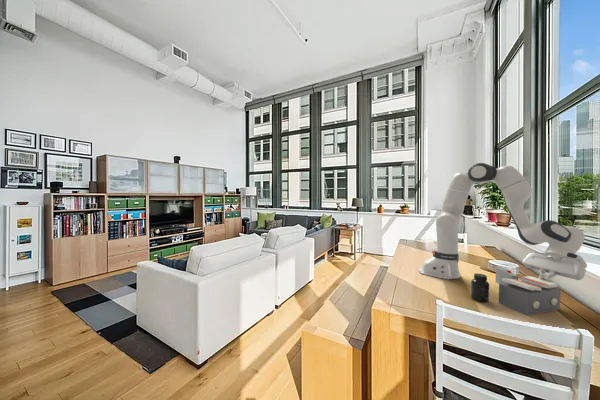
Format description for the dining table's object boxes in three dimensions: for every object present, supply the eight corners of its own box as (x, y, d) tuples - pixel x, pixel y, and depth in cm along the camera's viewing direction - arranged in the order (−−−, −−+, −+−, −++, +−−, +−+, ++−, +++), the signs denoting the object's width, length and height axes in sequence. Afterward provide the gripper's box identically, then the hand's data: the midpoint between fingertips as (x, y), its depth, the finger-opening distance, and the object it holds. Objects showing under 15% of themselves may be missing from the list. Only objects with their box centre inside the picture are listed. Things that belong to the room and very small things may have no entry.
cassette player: (517, 293, 117) (518, 274, 116) (511, 293, 117) (512, 273, 117) (501, 282, 132) (501, 265, 131) (495, 281, 132) (496, 264, 132)
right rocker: (545, 289, 99) (546, 284, 99) (518, 281, 108) (518, 276, 108) (558, 288, 101) (558, 283, 101) (530, 280, 111) (530, 275, 111)
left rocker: (527, 291, 96) (528, 285, 96) (501, 282, 106) (502, 277, 106) (540, 292, 98) (541, 287, 98) (513, 283, 108) (514, 278, 108)
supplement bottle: (467, 296, 113) (467, 272, 112) (480, 296, 113) (480, 272, 113) (479, 303, 106) (479, 277, 105) (492, 302, 106) (493, 277, 106)
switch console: (528, 315, 95) (529, 294, 95) (498, 303, 106) (499, 283, 106) (561, 309, 100) (562, 289, 100) (529, 298, 111) (529, 279, 111)
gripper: (527, 247, 117) (513, 267, 115) (586, 257, 97) (570, 282, 95) (533, 255, 118) (519, 275, 116) (592, 266, 99) (577, 292, 96)
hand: (543, 278), depth 105 cm, fingers closed, pressing on right rocker
